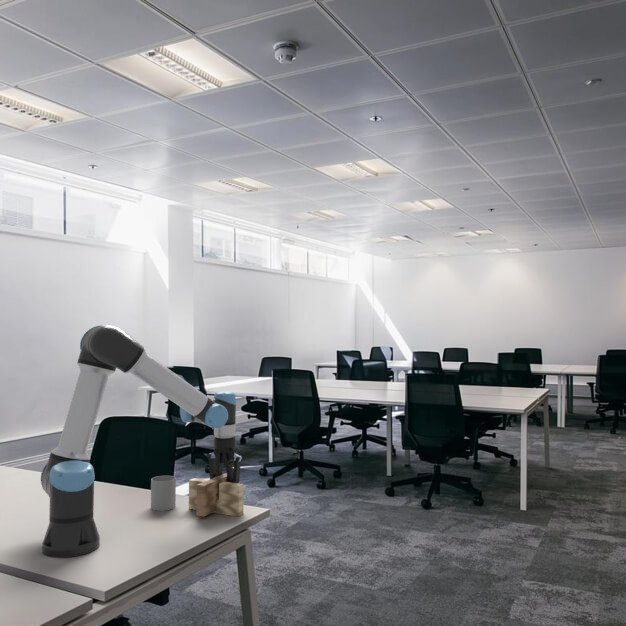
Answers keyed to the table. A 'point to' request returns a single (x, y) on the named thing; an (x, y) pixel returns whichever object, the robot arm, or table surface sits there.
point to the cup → (163, 492)
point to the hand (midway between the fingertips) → (224, 503)
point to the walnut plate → (208, 494)
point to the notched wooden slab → (220, 497)
